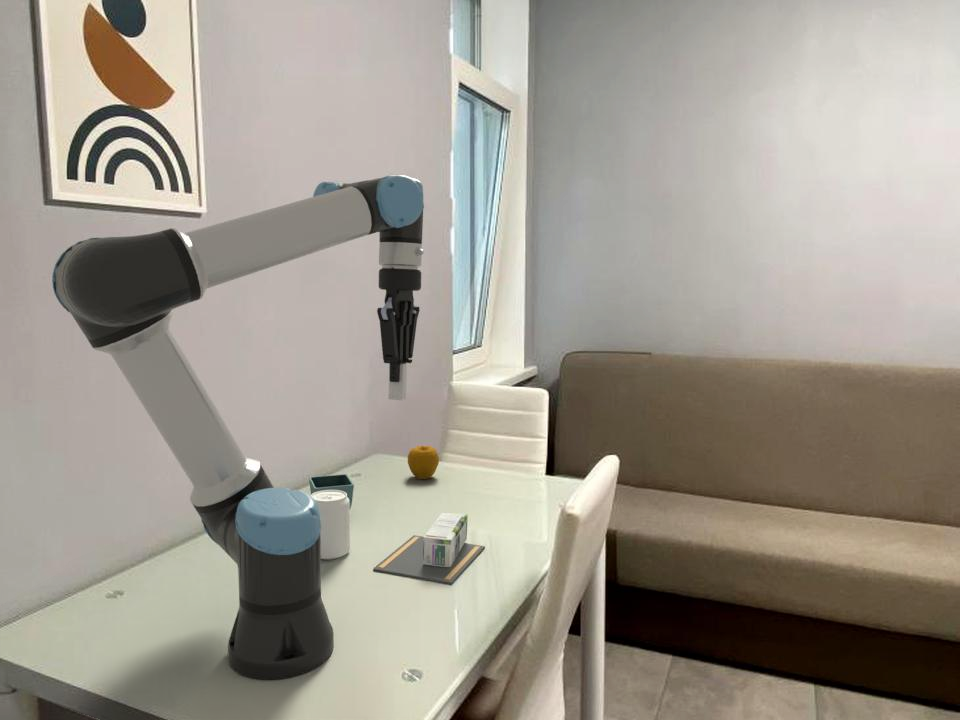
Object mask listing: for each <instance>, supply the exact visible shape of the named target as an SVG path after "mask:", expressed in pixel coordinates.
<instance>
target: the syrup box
mask: <svg viewBox="0 0 960 720" xmlns="http://www.w3.org/2000/svg"><path fill="white" fill-rule="evenodd" d="M467 535H468V514H463V513H452V512H451V513H450V512H449V513H448V512H441V513H440V514H439V515H438V517H437V519H436V520H435V521H434V523H433V524H432V525H431V527H429V529H428V530H427V532H426V534H425V535H424V536H423V537H424V543H423V565H431V566H439V567H451V566H452V564H453V562H454V560H455V559H456V557H457V555H458V554H459V552H460V550H461V548H462V547H463V545H464V543H466V541H467Z"/></svg>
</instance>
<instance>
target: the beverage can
mask: <svg viewBox="0 0 960 720" xmlns="http://www.w3.org/2000/svg"><path fill="white" fill-rule="evenodd" d="M310 496H311V497H312V498H313V499H314V500H315V501H316V503H317V505H318V507H319V515H320V520H321V560H336V559H339V558H341V557H343V556H345V555H347V554H348V553H349V552H350V551H351V527H350V526H351V516H350V515H351V513H350V512H351V508H350V501H349V498H348V497H347V493H346V492H344V491H340V490H322V491H318V492H315V493H313V494H311V493H310Z"/></svg>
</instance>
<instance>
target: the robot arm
mask: <svg viewBox="0 0 960 720" xmlns="http://www.w3.org/2000/svg"><path fill="white" fill-rule="evenodd" d="M424 208H425V204H424V186H423V183H422V182H421V181H420V180H418V179H416V178H412V177H409V176H407V175H402V174H401V175H400V174H396V175H395V174H390V175H386V176H384V177H378V178H374V179H369V180H363V181H355V182H351V183H347V182H346V183H345V182H339V181H332V182H331V181H321V182H320V183H318V185H317V186H316V187H315V189H314V192H313V196H312V197H308V198H304V199H301V200H297V201H294V202H290V203H287V204H284V205H283V204H282V205H280V206H276V207H272V208H269V209H265V210H263V211H259V212H255V213H252V214H248V215H244V216H240V217H237V218H234V219H230V220H227V221H223V222H219V223H216V224H212V225H210V226H206V227H202V228H198V229H195V230H192V231H187V232H182V231H181V230H178V229H176V228H174V227H172V228H169V229H165V230H159V231H156V232H153V233H146V234H139V235H132V236H131V235H129V236H108V237H107V236H106V237H90V238H88V239H85V240H80V241H78V242H76V243H75V244H73V245H70V246H69V247H67V249H66V250H65V251H63V252H62V253H61V254H60V255H59V258H58V259H57V261H56V262H55V264H54V267H53V270H52V279H51V280H52V290H53V293H54V296H55V298H56V300H57V301H58V303H59V304H60V305H61V307H63V309H65V310H66V312H67V313H70V315H72V317H73V320H74V321H75V322H76V324H77V326H78V327H79V329H80V330H81V331H82V333H83V336H85V338H86V340H87V342H89V344H90V346H91V347H92V349H93V350H95V351H99V352H101V353H105V354H109V355H110V356H111V357H112V358H113V360H114V362H115V363H116V365H117V366H118V368H119V369H120V372H121V374H122V375H123V376H124V377H125V379H126V381H127V382H128V384H129V385H130V388H132V389H131V390H133V393H135V395H136V397H137V398H138V400H139V402H140V403H141V405H142V406H143V408H144V410H145V411H146V412H147V414H148V416H149V418H150V419H151V421H152V422H153V424H154V426H155V428H156V429H157V430H158V432H159V433H160V435H161V437H162V438H163V440H164V441H165V443H166V444H167V446H168V447H169V449H170V450H171V451H170V452H172V454H173V455H174V457H175V459H176V460H177V462H178V464H179V465H180V467H181V469H182V471H183V472H184V473H185V475H186V476H187V478H188V479H189V481H190V483H191V485H192V487H193V488H192V491H191V494H190V495H189V496H190V497H189V500H190V503H191V505H192V506H193V507H194V509H195V511H196V512H197V513H198V515H199V517H200V519H201V523H202V525H203V529H204V530H205V533H206V534H207V535H208V537H209V538H210V539H211V540H212V541H213V542H214V543H215V544H216V545H218V546H219V547H220V548H221V549H222V550H223V551H224V552H225V553H226V554H227V555H228V556H229V557H230V558H231V559H232V561H234V562H235V564H236V565H237V573H238V575H237V576H238V599H239V600H238V601H239V605H238V609H237V612H236V617H235V619H234V623H233V626H232V630H231V632H230V635H229V639H228V643H227V655H228V656H227V657H228V658H227V659H228V664H229V666H230V668H231V669H232V670H234V672H237V673H238V674H240V675H242V676H245V677H247V678H253V679H257V680H278V679H286V678H287V679H288V678H291V677H295V676H299V675H301V674H304V673H307V672H309V671H312V670H314V669H316V668H317V667H319V666H321V665H322V664H323V663H324V662H326V661H327V660H328V658H329V657H330V656H331V655H332V653H333V651H334V648H335V645H334V644H335V641H334V640H335V639H334V628H333V626H332V624H331V622H330V619H329V616H328V613H327V610H326V607H325V604H324V601H323V599H322V581H321V580H322V574H321V573H322V569H321V568H322V567H321V566H322V565H321V564H322V563H321V562H322V561H321V560H322V559H321V520H320V515H319V507H318V505H317V503H316V501H315V500H314V499H313V498H312V497H311V494H308V493H307V492H306V491H305V492H304V491H303V490H299V489H293V490H292V489H291V488H290V487H289V488H288V487H274V484H273V483H272V482H271V479H270V478H269V476H268V475H267V473H266V471H265V469H264V468H263V466H262V465H261V462H260V461H259V460H258V459H256V458H252V457H247V456H245V455H244V453H243V452H242V450H241V448H240V446H239V444H238V443H237V441H236V440H235V438H234V436H233V434H232V432H231V431H230V429H229V428H228V426H227V424H226V421H224V418H223V417H222V415H221V414H220V412H219V411H218V409H217V407H216V405H215V404H214V402H213V400H212V398H211V396H210V394H209V392H207V390H206V388H205V386H204V384H203V382H202V381H201V379H200V377H199V376H198V374H197V373H196V371H195V369H194V367H193V366H192V364H191V362H190V360H189V359H188V357H187V356H186V354H185V352H184V350H183V348H182V346H181V345H180V342H178V340H177V338H176V336H175V335H174V333H173V330H172V329H171V327H170V322H171V319H172V316H173V313H174V309H176V308H180V307H181V306H184V305H187V304H190V303H193V302H197V301H198V300H201V299H202V298H203V297H204V295H205V292H206V291H207V289H210V288H213V287H215V286H219V285H222V284H225V283H227V282H231V281H233V280H236V279H239V278H243V277H245V276H249V275H253V274H255V273H258V272H261V271H263V270H266V269H269V268H272V267H275V266H279V265H281V264H285V263H288V262H290V261H294V260H296V259H300V258H303V257H307V256H308V255H311V254H314V253H317V252H320V251H321V252H322V251H323V250H327V249H330V248H332V247H336V246H338V245H341V244H344V243H348V242H350V241H355V240H357V239H360V238H363V237H365V236H368V235H373V234H376V233H379V241H378V242H379V247H378V248H379V249H378V265H380V266H381V268H379V270H378V288H379V289H380V290H382V291H384V290H385V296H384V305H383V306H382V307H378V308H377V309H376V313H377V316H378V320H379V328H380V338H381V339H380V341H381V349H382V359H383V363H384V364H389V365H388V366H389V367H388V371H389V373H388V400H394V401H405V400H406V399H407V369H408V368H407V366H408V365H407V364H412V363H413V359H412V358H413V356H414V349H415V339H416V331H417V325H418V324H417V323H418V318H419V313H420V310H421V309H420V306H415V304H414V303H415V299H414V292H415V291H421V289H422V271H421V269H419V267H420V268H421V266H422V255H424V254H425V252H424V249H423V228H424V227H423V226H424V223H423V221H424Z"/></svg>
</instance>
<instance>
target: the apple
mask: <svg viewBox="0 0 960 720" xmlns="http://www.w3.org/2000/svg"><path fill="white" fill-rule="evenodd" d="M439 458H440V457H439V453H438V450H437V449H436V448H434V447H433V446H431V445H419V446H414V447H412V448H411V449H410V450H409V453H408V455H407V465H408V467H409V471H410V472H411V474H412V475H413V476H414V477H415V478H416V479H418V480H427V478H428V479H431V478H432V477H433V475H434V474H435V473H436V470H437V468H438V466H439V462H440V459H439Z"/></svg>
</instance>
